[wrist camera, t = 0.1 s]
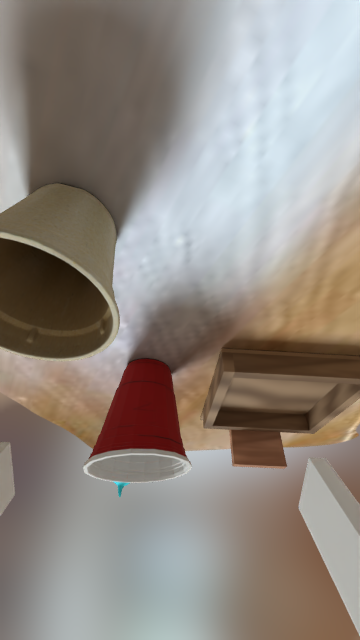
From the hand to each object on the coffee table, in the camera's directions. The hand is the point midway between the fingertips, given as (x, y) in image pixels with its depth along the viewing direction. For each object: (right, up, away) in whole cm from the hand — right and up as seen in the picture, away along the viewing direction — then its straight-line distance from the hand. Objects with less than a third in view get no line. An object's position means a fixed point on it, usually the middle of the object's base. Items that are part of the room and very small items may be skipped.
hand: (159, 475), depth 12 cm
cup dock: (+14, -4, +27) cm, 30 cm away
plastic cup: (-3, +1, +23) cm, 23 cm away
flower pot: (-7, +14, +8) cm, 17 cm away
